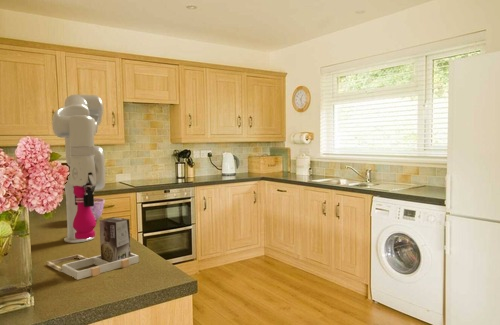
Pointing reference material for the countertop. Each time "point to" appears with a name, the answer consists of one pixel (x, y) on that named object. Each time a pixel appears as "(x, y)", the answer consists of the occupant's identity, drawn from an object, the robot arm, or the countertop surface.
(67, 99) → the robot arm
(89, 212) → the pepper mill
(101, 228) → the coffee box
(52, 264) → the tray frame
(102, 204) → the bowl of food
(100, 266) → the frame
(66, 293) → the countertop surface
